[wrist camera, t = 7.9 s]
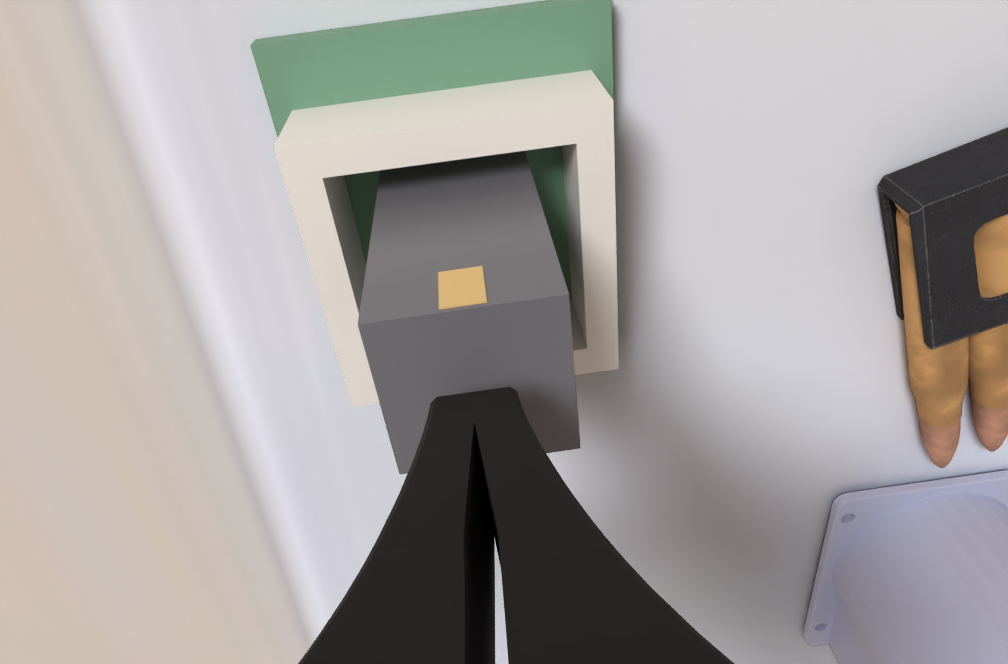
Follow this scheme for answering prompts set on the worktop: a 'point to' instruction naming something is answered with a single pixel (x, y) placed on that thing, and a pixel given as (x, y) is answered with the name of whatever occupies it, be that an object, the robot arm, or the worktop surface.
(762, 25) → the worktop surface
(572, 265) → the board
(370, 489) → the worktop surface
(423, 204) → the plug
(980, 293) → the ammunition clip
